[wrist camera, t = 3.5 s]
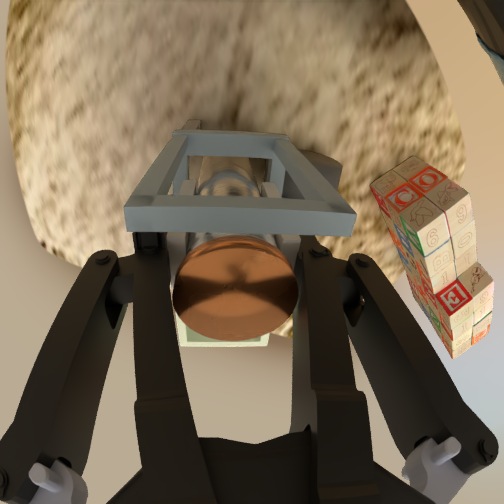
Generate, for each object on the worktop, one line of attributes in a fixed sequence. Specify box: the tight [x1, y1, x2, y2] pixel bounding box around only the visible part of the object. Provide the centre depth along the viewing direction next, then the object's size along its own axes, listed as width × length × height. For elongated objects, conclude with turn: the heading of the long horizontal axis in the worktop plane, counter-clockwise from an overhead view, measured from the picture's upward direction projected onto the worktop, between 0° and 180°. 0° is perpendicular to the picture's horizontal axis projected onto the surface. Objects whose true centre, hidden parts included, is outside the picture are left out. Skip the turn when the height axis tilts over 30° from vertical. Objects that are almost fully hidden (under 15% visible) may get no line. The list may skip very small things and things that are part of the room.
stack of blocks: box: [370, 156, 494, 359], centre depth 26 cm, size 21×6×12 cm, turn 36°
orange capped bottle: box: [172, 156, 299, 341], centre depth 17 cm, size 5×5×17 cm
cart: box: [124, 120, 357, 244], centre depth 19 cm, size 15×12×17 cm
